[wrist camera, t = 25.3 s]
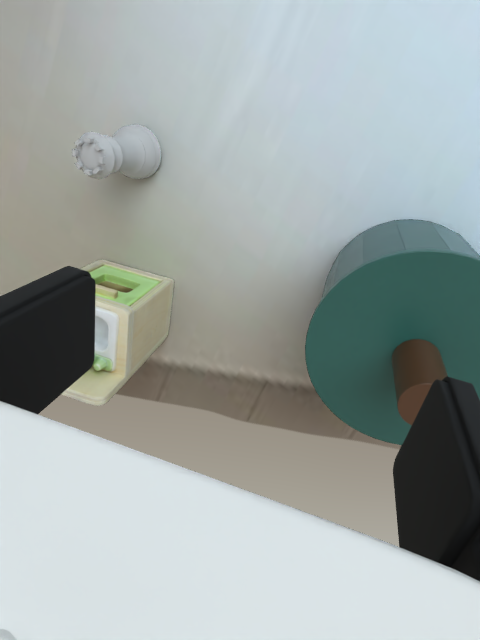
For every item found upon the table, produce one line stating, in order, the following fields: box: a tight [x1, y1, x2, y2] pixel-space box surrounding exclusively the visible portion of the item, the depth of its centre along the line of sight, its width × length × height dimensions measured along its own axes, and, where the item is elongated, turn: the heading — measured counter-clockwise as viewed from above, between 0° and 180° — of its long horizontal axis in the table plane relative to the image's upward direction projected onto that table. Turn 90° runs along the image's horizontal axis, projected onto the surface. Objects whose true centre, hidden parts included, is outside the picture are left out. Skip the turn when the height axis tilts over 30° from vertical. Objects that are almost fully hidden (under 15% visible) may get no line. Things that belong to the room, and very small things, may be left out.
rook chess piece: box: [72, 124, 161, 179], centre depth 33 cm, size 4×4×8 cm
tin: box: [321, 219, 480, 300], centre depth 30 cm, size 13×13×11 cm
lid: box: [305, 248, 480, 445], centre depth 23 cm, size 14×14×6 cm
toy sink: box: [61, 260, 174, 406], centre depth 37 cm, size 8×7×13 cm
